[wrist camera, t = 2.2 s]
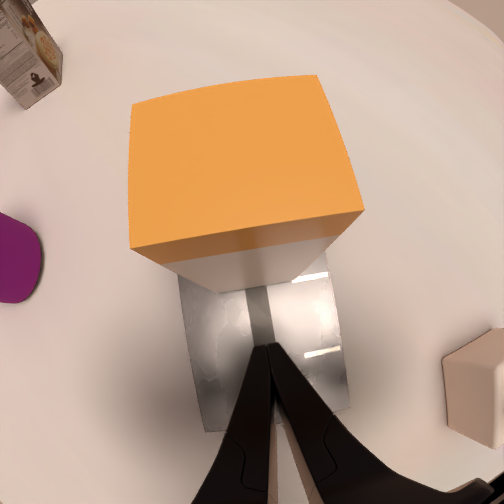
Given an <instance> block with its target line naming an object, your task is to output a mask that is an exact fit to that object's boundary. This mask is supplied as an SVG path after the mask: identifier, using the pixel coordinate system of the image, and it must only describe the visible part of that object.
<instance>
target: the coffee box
mask: <svg viewBox="0 0 504 504" xmlns="http://www.w3.org/2000/svg"><path fill="white" fill-rule="evenodd" d="M61 70H62V52H61V50H60V49H59V47H58V46H57V44H56V43H55V41H54V40H53V38H52V37H51V35H50V34H49V32H48V31H47V29H46V28H45V26H44V25H43V23H42V21H41V20H40V18H39V17H38V15H37V14H36V12H35V11H34V9H33V7H32V6H31V4H30V3H29V1H28V0H0V84H1V85H2V86H3V87H4V88H5V89H6V90H7V91H8V92H9V93H10V94H11V95H12V96H13V97H14V98H15V99H16V100H17V101H18V102H19V103H20V104H21V105H22V106H23V107H24V108H25V109H28V108H29V107H30V106H32V105H33V104H34V103H36V102H37V101H38V100H40V99H41V98H43V97H44V96H45V95H47V94H48V93H50V92H51V91H52V90H54V89H55V88H57V87H58V86H60V85H61Z"/></svg>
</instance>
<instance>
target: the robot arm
mask: <svg viewBox="0 0 504 504" xmlns="http://www.w3.org/2000/svg"><path fill="white" fill-rule="evenodd" d="M266 347H267V348H266ZM273 389H274V390H273ZM274 395H275V396H274ZM275 400H276V404H277V407H278V411H279V414H280V417H281V420H282V423H283V426H284V429H285V432H286V435H287V438H288V441H289V444H290V447H291V451H292V454H293V457H294V460H295V463H296V466H297V469H298V472H299V474H300V477H301V480H302V483H303V486H304V489H305V492H306V495H307V498H308V500H309V504H504V471H503V472H502V473H500V474H499V475H498V476H496V477H495V478H494V479H492V480H491V481H490V482H488V483H486V482H485V481H483V480H482V479H480V478H476V479H473V480H471V481H469V482H467V483H465V484H463V485H461V486H459V487H457V488H455V489H453V490H450V491H448V492H442V491H438V490H436V489H433V488H430V487H428V486H425V485H423V484H420V483H418V482H416V481H413V480H411V479H409V478H406V477H404V476H402V475H400V474H398V473H396V472H395V471H393V470H392V469H390V468H389V467H388V466H386V465H385V464H384V463H383V462H382V461H380V460H379V459H378V458H377V457H376V456H375V455H374V454H372V453H371V452H370V451H369V450H368V449H367V448H366V447H365V446H363V445H362V444H361V443H360V442H359V441H358V440H357V439H356V438H355V437H354V436H353V435H352V434H351V433H350V432H349V431H348V430H347V428H346V427H345V426H344V425H343V424H342V423H341V421H340V420H339V419H338V418H337V416H336V415H333V414H334V413H333V412H332V410H331V409H330V408H329V407H328V405H327V404H326V403H325V402H324V400H323V399H322V398H321V396H320V395H319V394H318V393H317V391H316V390H315V389H314V388H313V386H312V385H311V384H310V382H309V381H308V380H307V379H306V377H305V376H304V375H303V373H302V372H301V371H300V369H299V368H298V367H297V366H296V364H295V363H294V362H293V360H292V359H291V358H290V356H289V355H288V354H287V352H286V351H285V350H284V348H283V347H282V346H281V345H280V343H279V342H272V343H268V344H267V345H265V344H260V345H255V346H254V347H253V349H252V352H251V355H250V358H249V361H248V365H247V368H246V371H245V374H244V377H243V380H242V383H241V387H240V390H239V393H238V396H237V399H236V402H235V405H234V408H233V411H232V414H231V417H230V420H229V423H228V426H227V429H226V433H225V435H224V438H223V441H222V443H221V446H220V449H219V451H218V454H217V456H216V458H215V461H214V463H213V465H212V467H211V469H210V471H209V473H208V475H207V476H206V478H205V480H204V482H203V484H202V486H201V487H200V489H199V491H198V493H197V495H196V496H195V498H194V500H193V501H192V503H191V504H278V485H277V436H276V405H275Z"/></svg>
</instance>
